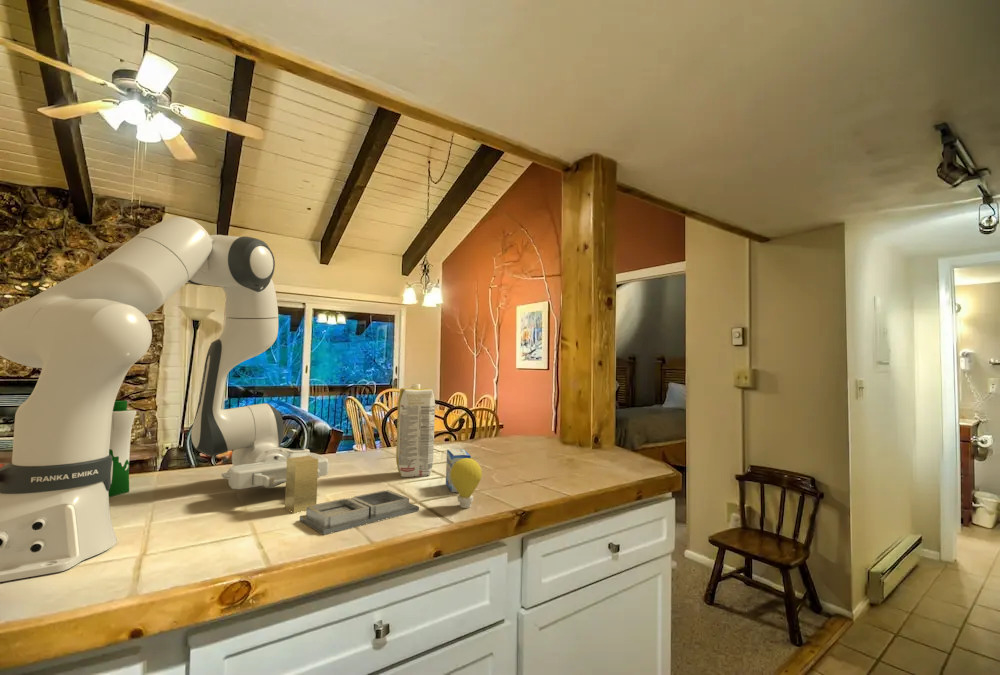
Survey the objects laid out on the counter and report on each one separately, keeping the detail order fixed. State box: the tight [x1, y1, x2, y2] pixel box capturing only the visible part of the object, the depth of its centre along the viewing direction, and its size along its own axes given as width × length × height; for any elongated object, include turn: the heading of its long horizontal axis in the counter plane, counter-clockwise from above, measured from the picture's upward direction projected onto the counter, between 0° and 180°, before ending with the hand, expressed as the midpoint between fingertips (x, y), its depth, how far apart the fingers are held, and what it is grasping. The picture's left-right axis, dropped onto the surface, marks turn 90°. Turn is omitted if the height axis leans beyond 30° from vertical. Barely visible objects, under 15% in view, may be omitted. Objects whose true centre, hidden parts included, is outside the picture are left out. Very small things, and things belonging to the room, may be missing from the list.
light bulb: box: [450, 458, 483, 509], centre depth 99 cm, size 7×7×10 cm
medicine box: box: [445, 448, 472, 494], centre depth 113 cm, size 8×4×9 cm, turn 17°
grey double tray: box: [299, 489, 420, 535], centre depth 92 cm, size 20×10×3 cm, turn 135°
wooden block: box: [284, 456, 318, 514], centre depth 96 cm, size 4×4×10 cm
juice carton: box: [395, 383, 436, 478], centre depth 127 cm, size 9×8×24 cm
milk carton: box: [108, 399, 137, 498], centre depth 102 cm, size 9×9×20 cm
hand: (294, 478), depth 98 cm, fingers open, 8 cm apart
